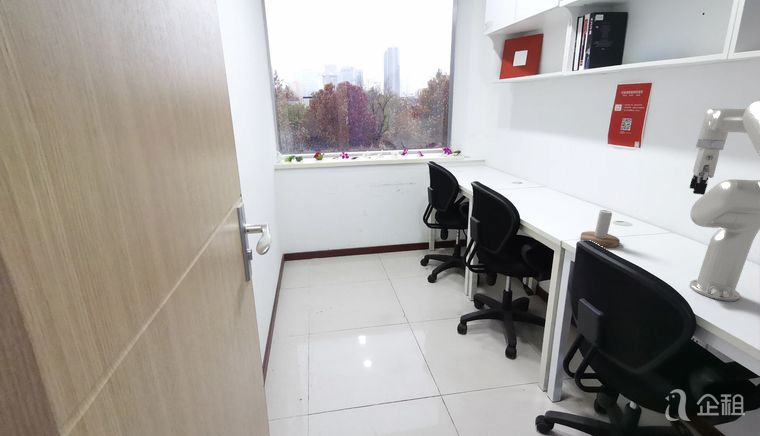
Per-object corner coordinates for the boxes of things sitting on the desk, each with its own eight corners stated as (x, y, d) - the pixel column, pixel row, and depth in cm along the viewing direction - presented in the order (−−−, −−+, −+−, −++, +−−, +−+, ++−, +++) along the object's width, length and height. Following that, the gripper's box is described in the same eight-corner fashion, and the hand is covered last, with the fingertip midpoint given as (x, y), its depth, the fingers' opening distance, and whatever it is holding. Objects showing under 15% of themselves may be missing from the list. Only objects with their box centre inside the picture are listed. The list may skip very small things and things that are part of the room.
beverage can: (603, 235, 166) (609, 210, 163) (608, 239, 162) (614, 213, 158) (592, 235, 167) (597, 209, 163) (597, 239, 162) (602, 213, 158)
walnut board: (618, 250, 155) (619, 246, 155) (578, 242, 163) (579, 238, 162) (619, 239, 167) (620, 235, 167) (581, 233, 175) (582, 229, 174)
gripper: (729, 148, 123) (713, 197, 129) (719, 143, 137) (705, 188, 143) (700, 146, 127) (686, 194, 133) (693, 141, 141) (681, 185, 147)
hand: (696, 191), depth 138 cm, fingers open, 9 cm apart
